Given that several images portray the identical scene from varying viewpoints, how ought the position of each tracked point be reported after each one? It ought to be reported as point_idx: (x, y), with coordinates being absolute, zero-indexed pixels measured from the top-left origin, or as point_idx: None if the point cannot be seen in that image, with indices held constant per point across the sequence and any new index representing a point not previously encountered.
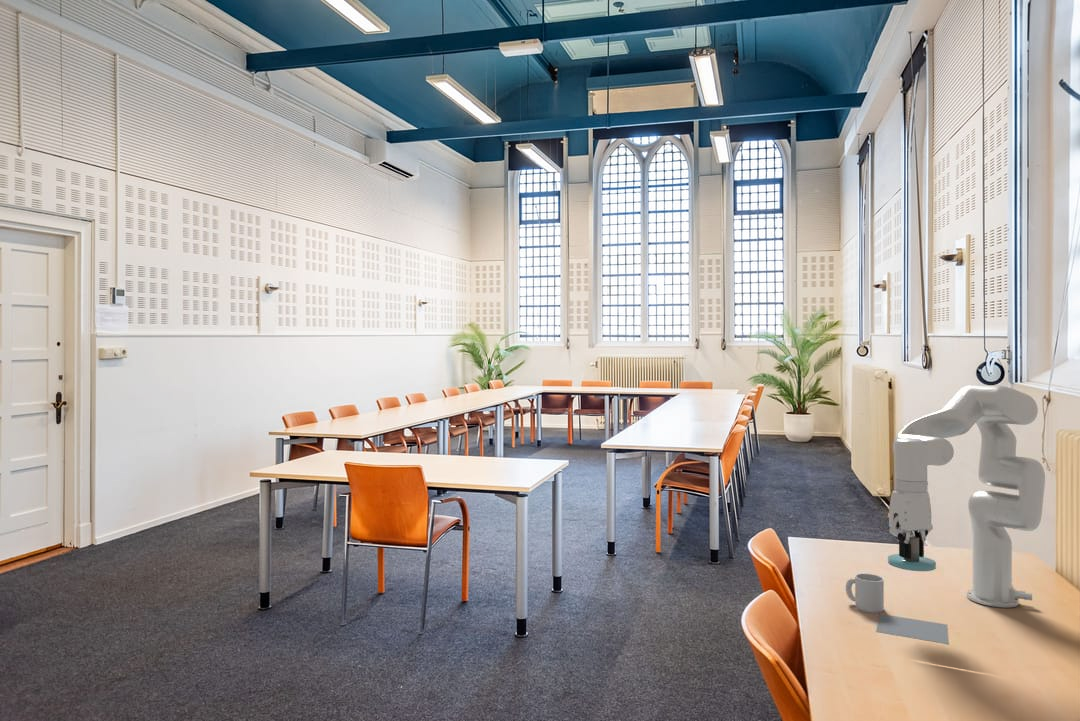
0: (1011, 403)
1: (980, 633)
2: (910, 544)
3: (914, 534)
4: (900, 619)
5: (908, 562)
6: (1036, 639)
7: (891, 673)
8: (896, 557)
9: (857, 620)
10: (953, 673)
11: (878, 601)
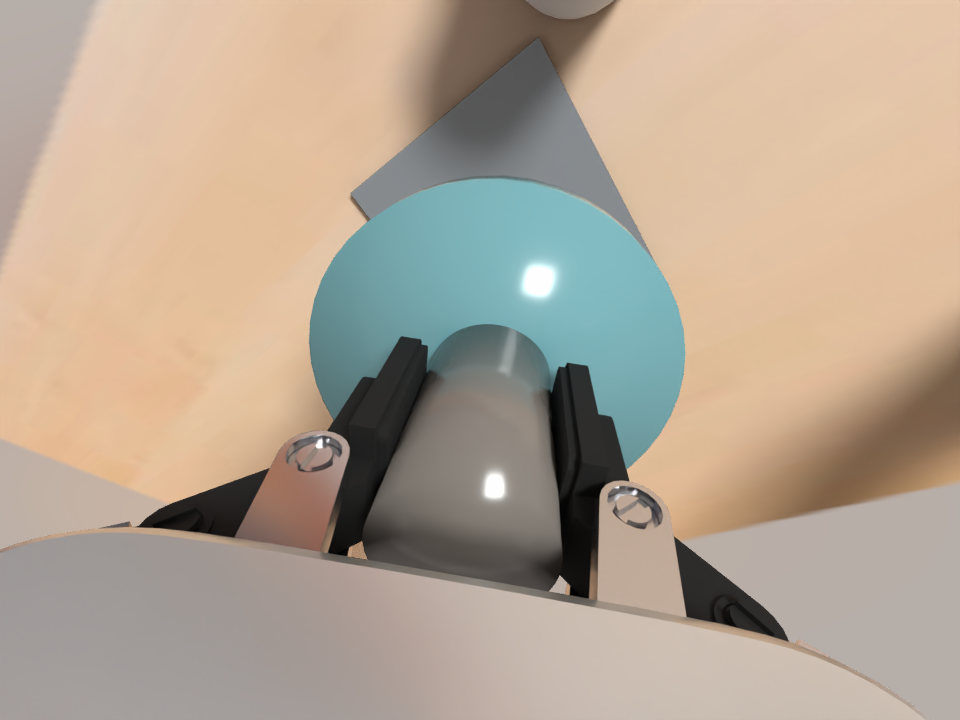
0: None
1: (685, 369)
2: None
3: (593, 553)
4: (556, 150)
5: None
6: (771, 463)
7: (197, 392)
8: (438, 270)
9: (384, 39)
10: None
11: (557, 5)
